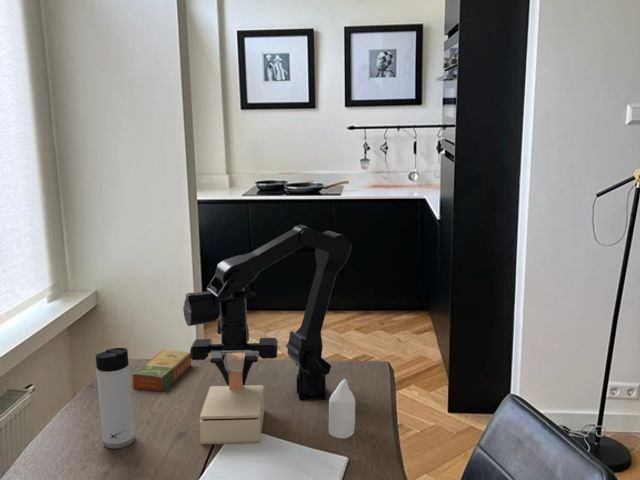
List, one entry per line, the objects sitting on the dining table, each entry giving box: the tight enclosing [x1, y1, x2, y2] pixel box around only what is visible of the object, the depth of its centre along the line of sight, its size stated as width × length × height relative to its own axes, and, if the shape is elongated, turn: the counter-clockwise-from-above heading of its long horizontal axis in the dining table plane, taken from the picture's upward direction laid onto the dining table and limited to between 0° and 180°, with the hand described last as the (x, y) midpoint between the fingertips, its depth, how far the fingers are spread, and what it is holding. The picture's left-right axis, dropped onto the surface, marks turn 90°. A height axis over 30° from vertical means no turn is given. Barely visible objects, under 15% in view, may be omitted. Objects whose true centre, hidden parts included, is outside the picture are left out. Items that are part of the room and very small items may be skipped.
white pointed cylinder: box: [328, 378, 356, 440], centre depth 131 cm, size 6×12×6 cm
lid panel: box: [199, 369, 265, 420], centre depth 134 cm, size 12×14×5 cm
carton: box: [132, 349, 192, 392], centre depth 161 cm, size 8×16×4 cm, turn 166°
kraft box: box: [199, 389, 265, 446], centre depth 135 cm, size 12×14×5 cm
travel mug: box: [95, 347, 136, 450], centre depth 128 cm, size 6×7×20 cm
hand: (236, 384), depth 140 cm, fingers closed on lid panel, 3 cm apart
